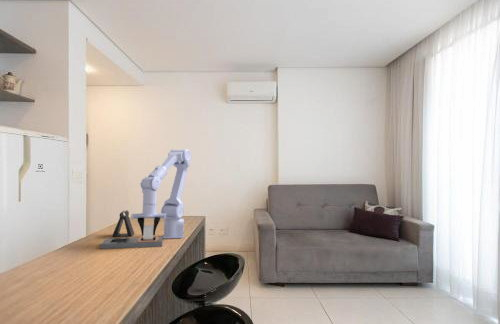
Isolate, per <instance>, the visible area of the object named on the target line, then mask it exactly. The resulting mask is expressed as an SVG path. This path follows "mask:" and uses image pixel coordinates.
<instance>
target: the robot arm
mask: <svg viewBox="0 0 500 324" xmlns="http://www.w3.org/2000/svg"><path fill="white" fill-rule="evenodd" d="M167 154H168V155H167V158H166V159H165V160H164V162H163V163H162V164H161V165H157V166H155V168H154V170H152V172H150V174H149V175H148V176H145V177H144V178H142V179H141V181H140V188H141V191H142V195H143V196H142V212H141V213H132V214H131V215H130V216H131V217H130V219H131V220H134V219H136V220H137V223H138V225H139V228H140V231H141V237H143V231H144V225H145V219H153V225H154V230H153V236H156V231H157V228H158V225H159V223H160V221H161V219H164V227H163V228H164V229H163V234H162V237H163V239H183V238H184V234H185V230H184V228H185V227H184V225H185V222H184V221H185V220H184V218H182V217H183V216H184V207H185V204H184V202H182V200H181V199H182V194H183V191H184V188H185V183H186V178H187V175H188V171H189V167H190V164H191V160H192V154H191V151H190V150H189V149H171V150H170V151H169V152H168V153H167ZM172 166H174V167H175V168H176V173H175V176H174V180H173V185H172V187H171V192H170V197H169V198H168V199H166V200H165V201H164V203H163V205H162V207H161V209H160V210H161V211H160V212H157V202H158V201H157V200H158V199H157V197H158V196H157V195H158V190H159V189H160V187H161V183H162V181H163V180H164V179H165V177H166V176H167V175H168V170H169V169H171V167H172Z"/></svg>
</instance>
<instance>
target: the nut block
mask: <svg viewBox="0 0 500 324" xmlns="http://www.w3.org/2000/svg"><path fill="white" fill-rule="evenodd" d="M153 230H154V224H148V225H145V224H144V231H143V236H142V237H143V241H147V240H153V237H154V235H153Z"/></svg>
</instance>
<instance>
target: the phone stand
mask: <svg viewBox="0 0 500 324" xmlns="http://www.w3.org/2000/svg"><path fill="white" fill-rule="evenodd" d="M124 214H125V215H124ZM129 214H130V213H129V211H128V210H122V211H121V212H119V219H118V221H117V223H116V226H115V228H114V231H113V234H112V236H111V237H112V238H132V237H133V236H134V235H135V231H134V228H133V226H132V222H131V220H130V219H131V218H130V216H129ZM123 222H124V223H123ZM123 224H124V226H125V229H126V232H125V233H121V229H122V226H123Z"/></svg>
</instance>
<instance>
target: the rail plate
mask: <svg viewBox="0 0 500 324" xmlns="http://www.w3.org/2000/svg"><path fill="white" fill-rule="evenodd" d="M163 241H164V240H163V236H156V235H154V236H153V240H147V241H143V236H139V237H112V238H109V237H108V238H105V239H104V240H103V241H102V242H101V243H100V250H108V249H129V248H131V249H133V248H135V249H136V248H152V247H153V248H155V247H157V248H158V247H163Z"/></svg>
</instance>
